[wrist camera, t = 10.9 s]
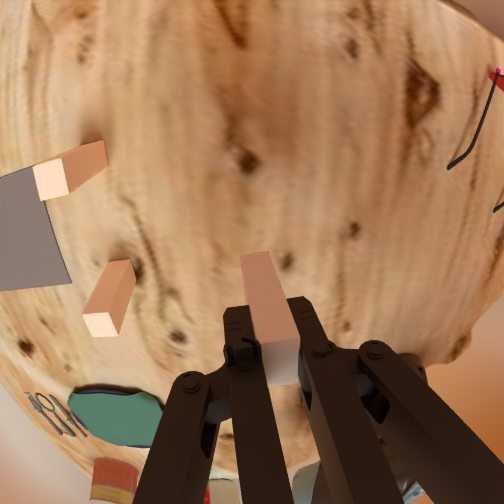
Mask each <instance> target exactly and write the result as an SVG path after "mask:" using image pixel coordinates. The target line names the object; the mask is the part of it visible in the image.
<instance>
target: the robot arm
mask: <svg viewBox="0 0 504 504" xmlns="http://www.w3.org/2000/svg"><path fill="white" fill-rule="evenodd" d="M240 259H241V268H242V277H243V286H244V295H245V301H246V305H244V306H237V307H229V308H227V309H226V311H225V313H224V315H223V322H224V334H225V345H224V349H223V352H224V357H225V363H224V364H223V366H222V367H221V368H219V369H218V370H216V371H214V372H212V373H210V374H207V375H204V374H203V373H201V372H197V371H188V372H185V373H183V374H181V375H180V376H178V377H177V378H176V379H175V381H174V383H173V385H172V388H171V391H170V394H169V396H168V399H167V402H166V405H165V408H164V410H163V413H162V416H161V419H160V422H159V425H158V428H157V430H156V433H155V436H154V439H153V442H152V445H151V448H150V451H149V454H148V457H147V460H146V463H145V466H144V468H143V471H142V474H141V478H140V481H139V484H138V487H137V490H136V493H135V496H134V499H133V502H132V504H203V503H204V498H205V494H206V489H207V484H208V480H209V475H210V470H211V466H212V461H213V456H214V452H215V447H216V442H217V437H218V433H219V428H220V423H221V422H222V421H225V420H227V419H230V418H232V425H233V433H234V442H235V450H236V458H237V466H238V473H239V481H240V488H241V495H242V502H243V504H409V503H411V502H412V501H415V500H416V499H418V498H420V497H421V496H422V495H424V494H427V495H428V496H429V497H430V499H431V500H432V501H433V502H434V504H504V464H503V463H502V462H501V461H500V460H499V459H498V458H497V456H496V455H495V454H494V453H493V452H492V451H491V450H490V449H489V448H488V447H487V446H486V445H485V444H484V442H482V440H481V439H479V437H478V436H477V435H476V434H475V433H474V432H473V431H472V430H471V429H470V428H469V427H468V426H467V425H466V424H465V423H464V422H463V420H462V419H461V418H460V417H459V416H458V415H457V414H456V413H455V412H454V411H453V410H452V409H451V408H450V407H449V406H448V405H447V404H446V403H445V402H444V401H443V400H442V399H441V398H440V397H439V396H438V395H437V394H436V393H435V392H434V391H433V390H432V389H431V388H430V387H429V386H428V382H427V377H426V373H425V368H424V366H423V364H422V363H421V361H420V360H419V358H418V357H417V356H415V355H412V354H403V355H397V354H396V353H395V352H394V351H393V350H392V349H391V348H390V347H389V346H388V345H387V344H385V343H384V342H381V341H378V340H370V341H366V342H364V343H363V344H362V345H361V346H360V348H359V349H344V348H339V347H337V346H336V345H335V344H334V343H333V342H331V341H330V340H328V338H327V336H326V334H325V332H324V330H323V327H322V325H321V323H320V321H319V319H318V317H317V314H316V312H315V311H314V308H313V306H312V304H311V302H310V301H309V300H308V299H306V298H305V297H304V296H301V297H294V298H288V299H286V297H285V295H284V292H283V289H282V286H281V284H280V281H279V278H278V276H277V273H276V270H275V268H274V265H273V262H272V260H271V257H270V254H269V252H268V251H267V252H259V253H252V254H244V255H240ZM298 376H299V380H300V383H301V394H300V404H301V403H303V402H304V405H305V409H306V412H307V415H308V419H309V422H310V426H311V429H312V432H313V436H314V439H315V442H316V446H317V449H318V453H319V456H320V459H321V460H319V461H318V462H316V463H314V464H311V465H308V466H305V467H303V468H300V469H299V470H298V471H297V472H296V473H295V475H294V477H293V482H292V491H291V487H290V482H289V478H288V474H287V469H286V465H285V461H284V456H283V452H282V447H281V443H280V438H279V434H278V429H277V425H276V421H275V416H274V411H273V407H272V402H271V398H270V393H269V389H268V388H273V387H279V386H285V385H291V384H296V383H298Z"/></svg>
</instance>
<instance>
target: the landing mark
mask: <svg viewBox="0 0 504 504" xmlns="http://www.w3.org/2000/svg"><path fill="white" fill-rule="evenodd" d="M71 283H72V282H71V280H70V277H69V274H68V272H67V269H66V267H65V264H64V261H63V258H62V256H61V253H60V250H59V247H58V244H57V241H56V238H55V235H54V232H53V229H52V225H51V222H50V219H49V215H48V212H47V208H46V205H45V201H44V200H43V201H41V200H40V197H39V193H38V189H37V185H36V180H35V176H34V172H33V166H32V167H29V168H26V169H23V170H20V171H18V172H15V173H12V174H9V175H7V176H4V177H1V178H0V291H9V290H18V289H27V288H36V287H45V286H54V285H63V284H71Z"/></svg>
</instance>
